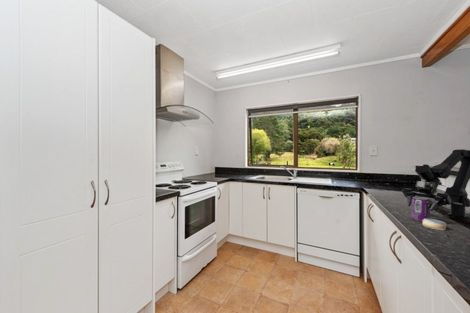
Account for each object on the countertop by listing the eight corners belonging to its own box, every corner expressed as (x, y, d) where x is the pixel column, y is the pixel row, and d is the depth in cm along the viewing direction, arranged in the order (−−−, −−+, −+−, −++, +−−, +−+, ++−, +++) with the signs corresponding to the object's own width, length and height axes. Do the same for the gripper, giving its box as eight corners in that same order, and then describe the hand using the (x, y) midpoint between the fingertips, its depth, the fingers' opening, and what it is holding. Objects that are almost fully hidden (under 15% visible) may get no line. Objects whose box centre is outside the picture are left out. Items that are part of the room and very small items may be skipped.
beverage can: (433, 223, 100) (433, 199, 100) (417, 222, 102) (417, 199, 102) (423, 218, 107) (423, 196, 107) (408, 217, 109) (408, 196, 109)
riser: (427, 223, 101) (427, 217, 101) (449, 228, 94) (449, 222, 94) (419, 225, 97) (419, 219, 97) (441, 231, 90) (441, 224, 90)
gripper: (404, 174, 114) (392, 194, 110) (449, 177, 97) (438, 202, 93) (411, 186, 118) (400, 207, 113) (456, 192, 101) (445, 217, 96)
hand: (419, 208), depth 104 cm, fingers open, 9 cm apart
